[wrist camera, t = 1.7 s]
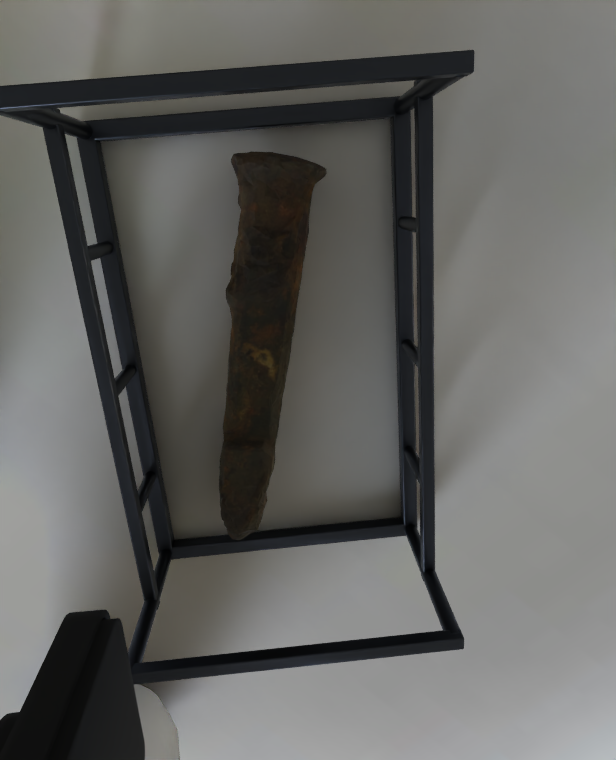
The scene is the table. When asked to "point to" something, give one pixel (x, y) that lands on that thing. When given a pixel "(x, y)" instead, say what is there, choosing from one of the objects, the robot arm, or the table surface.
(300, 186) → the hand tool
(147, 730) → the grey water bottle
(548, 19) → the table surface
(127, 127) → the drying rack
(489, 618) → the table surface
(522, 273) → the table surface
